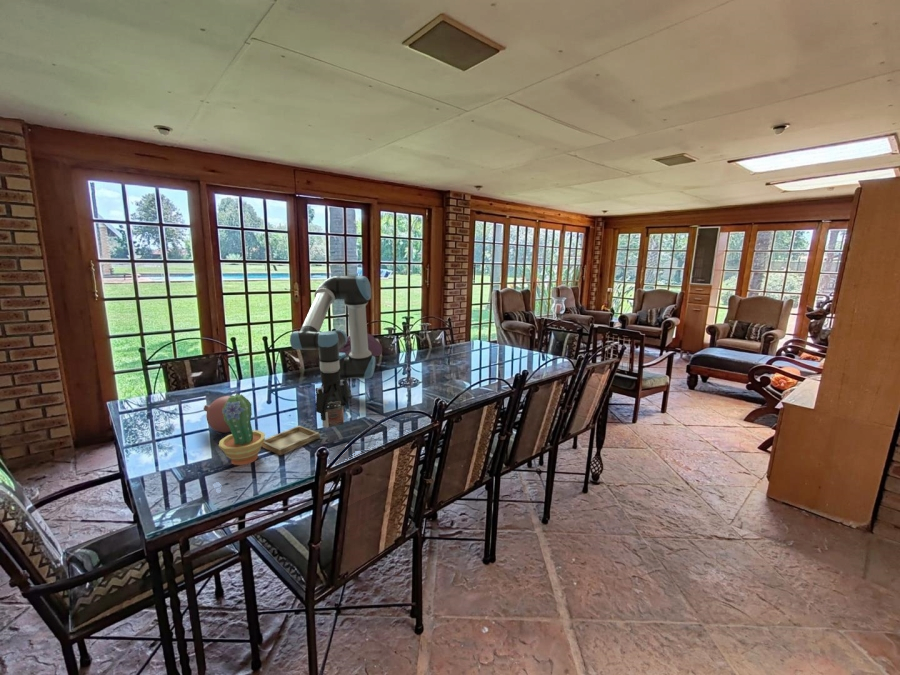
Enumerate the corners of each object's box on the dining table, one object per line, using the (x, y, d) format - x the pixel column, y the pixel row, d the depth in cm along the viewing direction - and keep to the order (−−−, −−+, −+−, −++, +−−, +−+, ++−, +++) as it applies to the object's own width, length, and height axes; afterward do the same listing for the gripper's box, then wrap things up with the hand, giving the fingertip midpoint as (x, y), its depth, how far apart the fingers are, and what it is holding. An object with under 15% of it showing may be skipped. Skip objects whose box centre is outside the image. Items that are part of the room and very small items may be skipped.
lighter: (324, 428, 161) (322, 405, 159) (323, 424, 164) (321, 402, 162) (344, 424, 164) (343, 402, 162) (343, 421, 167) (341, 399, 165)
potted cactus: (210, 465, 144) (202, 399, 139) (246, 446, 158) (239, 386, 153) (243, 473, 138) (235, 405, 133) (276, 453, 152) (271, 391, 147)
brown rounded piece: (224, 419, 183) (220, 387, 180) (257, 426, 176) (254, 393, 172) (192, 433, 169) (187, 398, 166) (226, 441, 162) (222, 405, 158)
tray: (299, 430, 172) (299, 425, 172) (319, 437, 165) (319, 432, 165) (260, 446, 158) (260, 441, 157) (280, 455, 151) (279, 450, 150)
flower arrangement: (350, 387, 243) (352, 345, 233) (319, 375, 251) (320, 334, 241) (381, 367, 274) (385, 329, 264) (353, 357, 282) (355, 319, 271)
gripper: (343, 362, 169) (346, 412, 174) (302, 375, 153) (307, 430, 158) (355, 365, 165) (358, 416, 170) (315, 379, 149) (319, 435, 154)
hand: (333, 423), depth 164 cm, fingers closed on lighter, 7 cm apart
